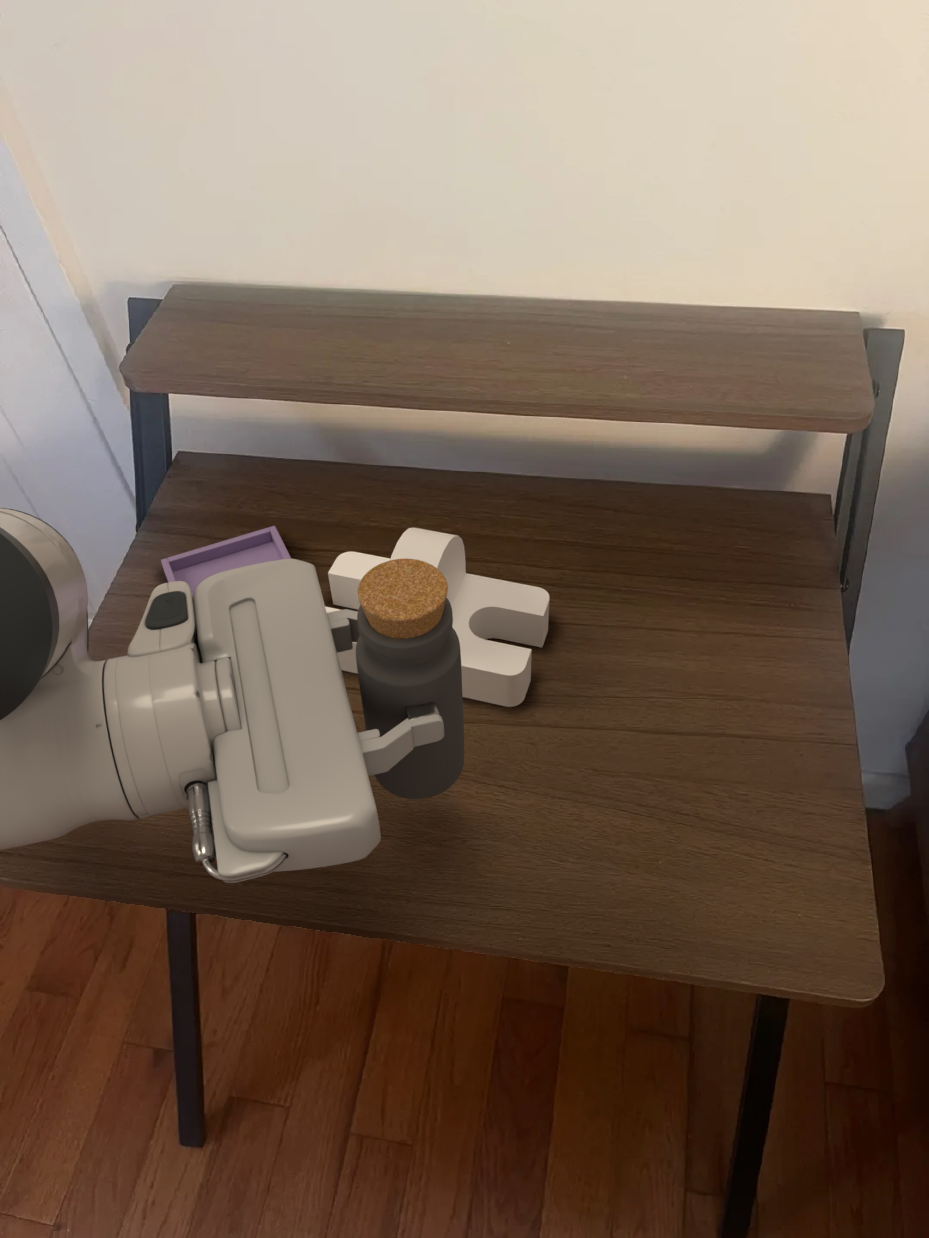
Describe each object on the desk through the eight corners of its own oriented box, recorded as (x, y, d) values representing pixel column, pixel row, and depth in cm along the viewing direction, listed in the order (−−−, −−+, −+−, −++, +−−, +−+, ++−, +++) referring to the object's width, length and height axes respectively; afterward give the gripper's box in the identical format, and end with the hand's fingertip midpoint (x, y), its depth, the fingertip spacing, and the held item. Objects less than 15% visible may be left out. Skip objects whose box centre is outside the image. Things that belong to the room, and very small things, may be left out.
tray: (193, 653, 81) (188, 637, 80) (165, 574, 88) (160, 559, 87) (314, 613, 84) (311, 598, 83) (278, 540, 91) (274, 525, 89)
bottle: (482, 749, 64) (479, 574, 53) (430, 816, 61) (416, 643, 50) (406, 711, 66) (389, 537, 56) (352, 773, 63) (323, 600, 52)
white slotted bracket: (520, 709, 76) (522, 615, 69) (301, 661, 81) (281, 566, 73) (551, 621, 83) (555, 526, 75) (346, 580, 87) (332, 486, 80)
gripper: (181, 854, 46) (473, 784, 49) (155, 565, 60) (383, 521, 63) (209, 922, 51) (475, 855, 53) (179, 638, 65) (391, 594, 67)
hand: (425, 672), depth 58 cm, fingers closed on bottle, 6 cm apart
